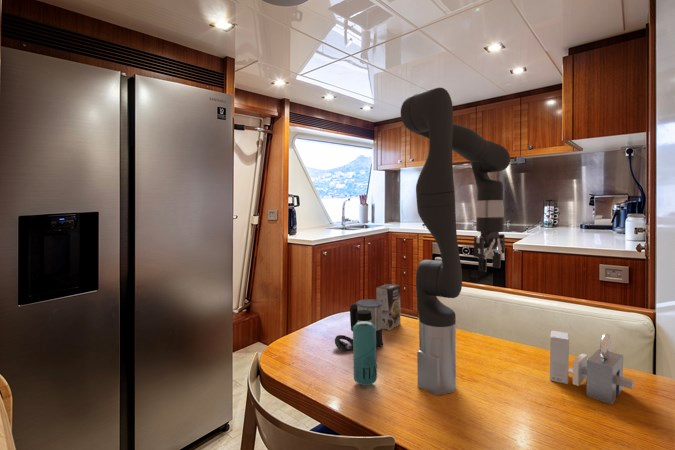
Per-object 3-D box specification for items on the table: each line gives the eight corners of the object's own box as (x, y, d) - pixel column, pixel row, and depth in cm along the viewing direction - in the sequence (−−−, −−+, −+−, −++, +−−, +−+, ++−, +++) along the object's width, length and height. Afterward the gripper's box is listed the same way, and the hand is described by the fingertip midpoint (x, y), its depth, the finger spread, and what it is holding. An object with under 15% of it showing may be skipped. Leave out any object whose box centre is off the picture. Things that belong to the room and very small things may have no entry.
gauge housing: (611, 404, 81) (613, 342, 80) (542, 380, 92) (542, 325, 92) (625, 385, 89) (626, 328, 88) (560, 365, 101) (560, 315, 100)
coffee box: (390, 330, 132) (390, 289, 131) (376, 327, 136) (375, 287, 135) (401, 324, 139) (400, 284, 139) (387, 321, 143) (386, 283, 143)
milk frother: (388, 342, 121) (387, 300, 120) (367, 359, 108) (366, 312, 107) (353, 335, 128) (352, 296, 128) (329, 350, 115) (328, 306, 114)
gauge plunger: (628, 404, 79) (629, 377, 79) (572, 385, 88) (572, 361, 88) (639, 387, 87) (640, 362, 86) (586, 372, 95) (586, 349, 95)
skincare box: (568, 384, 90) (569, 340, 89) (549, 380, 92) (550, 336, 92) (568, 375, 95) (568, 332, 95) (549, 371, 97) (550, 329, 97)
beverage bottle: (361, 393, 88) (360, 316, 87) (348, 382, 94) (347, 309, 93) (382, 386, 91) (381, 312, 90) (368, 376, 97) (367, 306, 96)
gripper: (490, 216, 95) (490, 274, 96) (513, 215, 104) (513, 268, 105) (465, 216, 101) (465, 271, 102) (489, 215, 110) (489, 265, 111)
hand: (489, 269), depth 103 cm, fingers open, 8 cm apart
